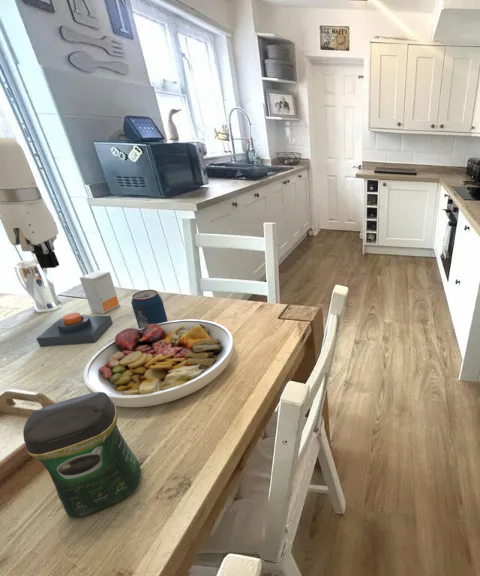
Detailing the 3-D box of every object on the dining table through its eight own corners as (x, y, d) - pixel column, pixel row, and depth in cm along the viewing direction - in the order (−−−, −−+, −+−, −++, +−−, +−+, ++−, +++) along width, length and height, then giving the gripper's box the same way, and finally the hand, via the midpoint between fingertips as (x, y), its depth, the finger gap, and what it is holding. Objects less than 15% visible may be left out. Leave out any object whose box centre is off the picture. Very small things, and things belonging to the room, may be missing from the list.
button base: (40, 346, 84) (33, 332, 82) (63, 326, 93) (58, 312, 91) (94, 342, 87) (89, 328, 85) (112, 323, 96) (108, 310, 94)
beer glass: (65, 300, 105) (47, 257, 98) (63, 309, 100) (44, 264, 94) (34, 305, 101) (14, 261, 94) (31, 315, 96) (9, 269, 90)
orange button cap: (61, 325, 86) (59, 319, 85) (69, 318, 89) (67, 313, 88) (77, 324, 87) (75, 319, 86) (85, 318, 90) (83, 312, 89)
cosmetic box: (103, 314, 99) (91, 279, 94) (91, 312, 100) (78, 277, 95) (121, 305, 105) (110, 271, 100) (109, 303, 105) (97, 269, 100)
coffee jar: (142, 458, 59) (112, 378, 51) (142, 495, 53) (107, 413, 45) (71, 484, 54) (25, 401, 46) (62, 529, 48) (7, 443, 40)
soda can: (169, 322, 98) (160, 287, 93) (169, 334, 93) (160, 297, 88) (141, 327, 94) (130, 291, 89) (140, 340, 89) (128, 302, 84)
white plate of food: (259, 348, 89) (256, 324, 86) (162, 433, 63) (152, 404, 60) (174, 325, 97) (168, 302, 93) (55, 392, 71) (41, 363, 67)
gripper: (23, 189, 82) (51, 257, 90) (-28, 201, 69) (10, 279, 77) (58, 189, 84) (83, 256, 92) (16, 201, 71) (49, 277, 79)
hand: (50, 266), depth 84 cm, fingers closed
